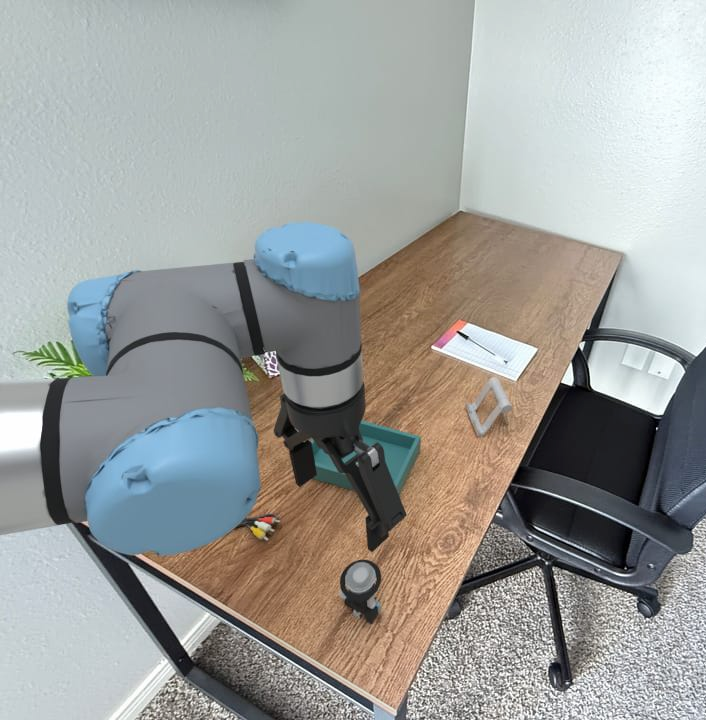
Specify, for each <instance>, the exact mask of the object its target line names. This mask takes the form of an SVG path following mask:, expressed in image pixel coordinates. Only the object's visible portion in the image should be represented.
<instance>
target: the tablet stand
mask: <svg viewBox="0 0 706 720" xmlns="http://www.w3.org/2000/svg"><path fill="white" fill-rule="evenodd" d="M491 391H492V393H493V396H494V399H495V401H496V406H495V407H494V409H493V410H492V411H491V413H490V414H489V416H488V417H487V419H486V420H485V421H484V423H483V424H481V421H480V420H479V419H480V418H479V417H478V414H477V410H478V409H479V407H480V406H481V404H482V403H483V402H484V400H485V398H486V397H487V396H488V395H489V393H490V392H491ZM464 407H465V410H466V412H467V415H468V417H469V421H470V422H471V425H472V428H473V430H474V432H475V434H476V437H478V438H482V437H484V436H485V435H486V434H487V433H488V431H489V429H490V428H491V427H492V426H493V425H494V423H495V421H496V420H497V419H498V417H499V416H500V415H502V417H503V419H504V422H505V424H506V426H507V425H509V423H508V420H507V418H506V415H505V414H507V413H509V412H511V411H512V409H513V406H512V403H511V402H510V400H509V398H508V396H507V394H506V392H505V390H504V388H503V386H502V384H501V382H500V380H499V378H498V377H497V376H492V377H491V378H489V379H488V381H487V382H486V384H485V385H484V387H483V388H482V389H481V391H480V392H479V394H478V395H477V397H476V399H475V400H474V401H473V403H471V404H470V403H469V401H465V404H464Z"/></svg>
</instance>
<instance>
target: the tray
mask: <svg viewBox="0 0 706 720" xmlns="http://www.w3.org/2000/svg"><path fill="white" fill-rule="evenodd" d="M359 430H360V433H361V435H362V437H363V442H365V443H366V444H368V445H369V446H372V445H374V444H375V443H377V442H378V443H380V444H381V445H382V447H383V449H384V455H385V462H386V464H387V467H388V469H389V472H390V474H391V477H392V479H393V482H394V484H395V487H396V489H397V492H398V494H399V496H400V494H401V492H402V490H403V488H404V487H405V484H406V482H407V479H408V478H409V475H410V473H411V472H412V469H413V466H414V465H415V463H416V461H417V458H418V457H419V454H420V452H421V439H422V436H420V435H416V434H413V433H409V432H406V431H402V430H399V429H394V428H391V427H387V426H385V425H380V424H377V423H373V422H369V421H366V420H362V421H361V423H360V426H359ZM309 441H310V442H311V443H312V448H313V454H314V460H315V466H316V472H317V475H316V476H315V477H313V478H312V479H311V480H316V481H320V482H322V483H326V484H329V485H333V486H336V487H340V488H344V489H347V490H349V491H354V492H355V490H354V488H353V487H352V485H351V483H350V482H349V480H348V478H347V476H346V475H345V473H339V472H338V470H337V469H336V467H335V465H334V463H333V462H332V460H331V458H330V457H329V455H328V454H326V453H324V451H323V450H322V449H321V448H319V447H318V446H317V445H316V443H315V441H314V440H313V439H312V438H310V439H309ZM356 454H357V453H356V452H354V451H353V453H351V454H349V455H348V456H346V457H344V458H343V459H342V461H343V462H344V463H345V462H347V461H348V460H349V459H351V458H352V457H354V456H355V455H356Z"/></svg>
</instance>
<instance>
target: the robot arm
mask: <svg viewBox="0 0 706 720" xmlns="http://www.w3.org/2000/svg"><path fill="white" fill-rule="evenodd" d="M358 273H359V272H358V266H357V258H356V251H355V247H354V244H353V241H351V239H350V238H349V237H348V236H347V235H346V234H345V233H344V232H343V231H341V230H339V229H337V228H335V227H332V226H330V225H326V224H323V223H317V222H309V221H295V222H287V223H284V224H283V225H282V226H273V227H270V228H267V229H266V230H264V231H262V233H261V234H259V236H257V238H256V240H255V242H254V254H253V258H252V259H244V260H243V261H237V262H225V263H218V264H217V263H216V264H215V263H213V264H205V265H204V264H203V265H193V266H183V267H173V268H162V269H149V270H139V269H135V270H130V271H125V272H123V273H120V274H114V275H108V276H102V277H95V278H90V279H89V278H88V279H85V280H82V281H79V282H78V283H77V284H75V285H74V286H73V287H72V288H71V290H70V292H69V294H68V297H67V302H66V308H67V312H68V317H69V318H68V320H67V324H68V329H69V333H70V336H71V340H72V344H73V346H74V348H75V351H76V353H77V355H78V357H79V359H80V360H81V362H82V364H83V366H84V367H85V368H86V370H87V372H88V373H89V374H91V375H92V376H91V375H88V376H87V375H86V376H73V377H59V378H58V377H55V378H34V379H9V380H7V379H6V380H0V536H4V535H11V534H15V533H22V532H23V533H24V532H27V531H33V530H34V531H35V530H38V529H39V530H40V529H45V528H50V527H56V526H57V527H58V526H62V525H67V524H68V525H69V524H73V523H76V524H78V523H86V522H87V525H88V528H89V531H90V533H91V534H92V536H93V537H94V538H95V539H96V540H97V541H98V542H99V543H100V544H101V545H103V546H104V547H105V548H107V549H109V550H112V551H114V552H116V553H120V554H123V555H127V556H139V555H141V554H145V553H147V552H150V553H155V555H157V556H161V557H164V556H165V557H166V556H173V555H179V554H183V553H187V552H191V551H194V550H197V549H199V548H200V549H201V548H202V547H205V546H206V545H209V544H211V543H214V542H215V541H217V540H220V539H221V538H223V537H224V536H226V535H227V534H229V533H230V532H232V531H233V530H234V529H235V528H237V527H239V526H238V525H239V524H240V523H241V522H242V521H243V520H244V519H245V518H247V517H248V515H249V514H250V513H251V511H252V510H253V508H254V507H255V505H256V502H257V500H258V496H259V493H260V491H261V488H262V486H261V484H262V483H261V473H260V465H259V464H260V463H259V457H258V448H259V433H258V431H257V429H256V426H255V423H254V420H253V416H252V410H251V405H250V401H249V396H248V390H247V387H246V386H247V385H246V382H245V377H244V368H243V364H242V359H246V358H250V357H258V356H262V355H265V354H267V353H273V352H275V355H276V356H275V357H276V363H277V368H278V373H279V377H280V382H281V387H282V391H283V393H282V394H280V395H279V401H280V409H279V412H278V415H277V418H276V421H275V425H274V427H273V434H274V436H275V437H276V438H278V439H280V438H281V437H282V438H283V439H284V440H283V442H282V443H283V446H284V448H286V449H288V454H289V459H290V463H291V467H292V472H293V476H294V482H295V485H296V486H297V487H298V488H301V487H302V486H304V485H305V484H307V483H308V482H309V481H311V480H313V479H312V478H313V477H315V476H316V475H317V472H316V466H315V460H314V454H313V448H312V443H311V442H310V440H311V439H313V440H314V441H315V443H316V445H317V446H318V447H319V448H321V449H322V450H323V451H324V453H326V454H328V455H329V457H330V458H331V460H332V462H333V463H334V465H335V467H336V469H337V470H338V472H339V473H345V475H346V476H347V478H348V480H349V482H350V483H351V485H352V487H353V488H354V490H355V491H354V493H356V496H357V498H358V499H359V500H360V502H361V504H362V506H363V508H364V509H365V511H366V513H367V516H365V519H364V520H365V531H366V542H367V543H366V545H367V546H366V548H367V550H368V551H369V552H370V553H374V552H375V551H376V550H377V549H378V548H379V547H380V546H381V545H382V544H383V543H384V542H385V541H386V540H387V539H388V538H389V537H390V533H389V532H391V531H392V530H393V529H395V527H396V526H398V525H399V523H401V522H402V521H403V520H404V519H405V518H406V517H407V512H406V509H405V507H404V504H403V502H402V499H401V496H400V495H399V494H398V492H397V489H396V487H395V484H394V482H393V479H392V477H391V474H390V472H389V469H388V467H387V464H386V462H385V455H384V449H383V447H382V445H381V444H380V443H378V442H377V443H375V444H374V445H372V446H369V445H368V444H366V443H365V442H363V437H362V435H361V433H360V430H359V426H360V423H361V421H363V418H364V416H365V414H366V407H367V406H366V405H367V403H366V388H365V382H364V377H365V375H364V362H363V347H362V344H363V343H362V330H361V329H362V328H361V298H360V297H361V295H360V294H361V291H362V290H361V285H360V282H359V281H360V279H359V274H358ZM353 451H354V452H356V453H357V454H356V455H355V456H354V457H352V458H351V459H349V460H348V461H347V462H345V463H344V462H343V461H342V459H343V458H344V457H346V456H348V455H349V454H351V453H353Z"/></svg>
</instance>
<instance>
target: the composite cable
mask: <svg viewBox="0 0 706 720" xmlns="http://www.w3.org/2000/svg"><path fill="white" fill-rule="evenodd" d="M281 522H282V521H281V520H279V516H277V515H276V514H275V513H266V514H262V515H258V516H254V517H246V518H245V519H244V520H243V521H242V522H241V523H240V524H239V525H238V526H237V527H241V526H246V527H248V528H249V529H250V531H252V534H253V535H254V536H255V537H256V538H257V539H259V540H262V541H263V540H265V541H266V542H268V541H269V540H270V539H269V538H268V537H267V535H271V536H272V535H273V533H275V531H276V530H275V529H274V528H273V527H274V526H275V525H277V524H278V523H281Z"/></svg>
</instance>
